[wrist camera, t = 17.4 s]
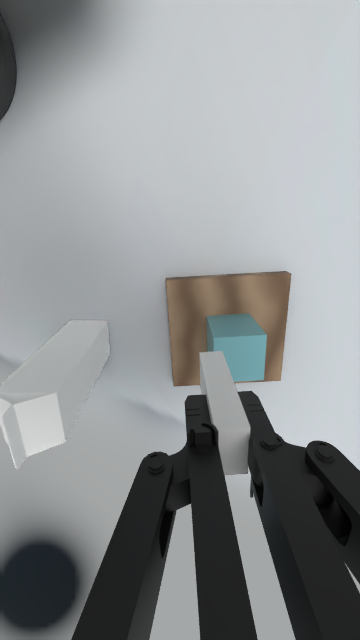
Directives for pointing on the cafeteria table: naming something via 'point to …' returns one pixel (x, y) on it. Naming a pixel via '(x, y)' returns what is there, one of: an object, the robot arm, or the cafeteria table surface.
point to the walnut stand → (224, 299)
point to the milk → (52, 388)
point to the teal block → (238, 344)
